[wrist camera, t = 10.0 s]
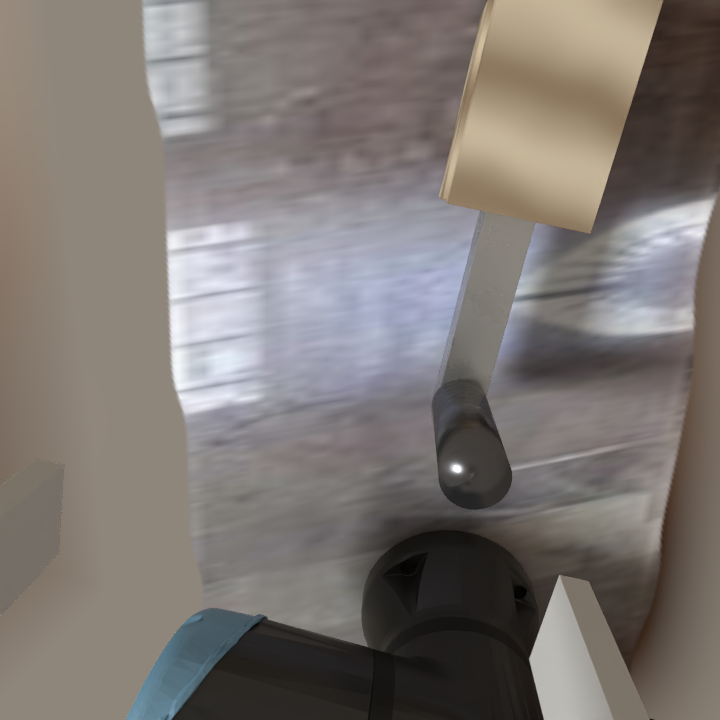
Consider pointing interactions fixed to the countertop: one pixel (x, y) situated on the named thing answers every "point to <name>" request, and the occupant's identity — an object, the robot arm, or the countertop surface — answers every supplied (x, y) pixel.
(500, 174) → the block
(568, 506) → the countertop surface
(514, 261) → the grey l-shaped piece
